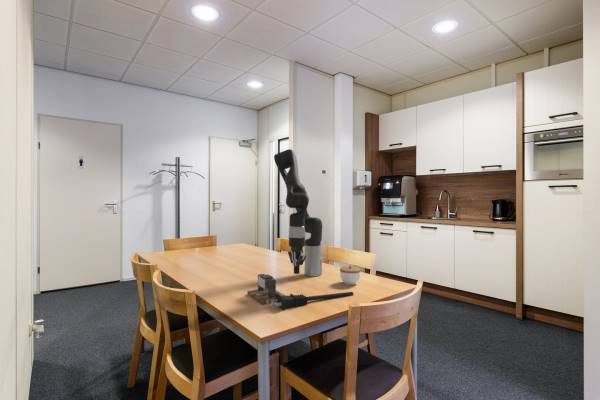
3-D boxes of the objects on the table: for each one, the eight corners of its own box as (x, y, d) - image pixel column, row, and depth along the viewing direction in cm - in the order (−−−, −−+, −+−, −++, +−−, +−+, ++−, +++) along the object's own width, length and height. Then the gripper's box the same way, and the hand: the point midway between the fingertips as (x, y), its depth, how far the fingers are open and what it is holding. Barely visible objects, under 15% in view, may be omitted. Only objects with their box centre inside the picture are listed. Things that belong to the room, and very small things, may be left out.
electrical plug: (264, 306, 133) (265, 294, 133) (346, 296, 152) (347, 285, 152) (272, 312, 126) (272, 300, 126) (357, 301, 144) (358, 290, 144)
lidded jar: (361, 281, 170) (361, 263, 170) (359, 287, 160) (359, 268, 160) (341, 279, 173) (341, 262, 173) (338, 285, 163) (338, 267, 163)
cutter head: (258, 291, 146) (258, 275, 146) (268, 289, 149) (268, 273, 149) (264, 295, 140) (264, 278, 140) (275, 293, 143) (274, 277, 143)
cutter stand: (247, 294, 148) (247, 275, 148) (270, 290, 154) (270, 271, 154) (261, 304, 135) (261, 283, 134) (286, 299, 141) (286, 279, 141)
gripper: (282, 234, 150) (282, 271, 150) (297, 238, 138) (296, 277, 138) (296, 234, 153) (296, 269, 154) (311, 237, 142) (311, 275, 142)
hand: (296, 273), depth 146 cm, fingers closed
